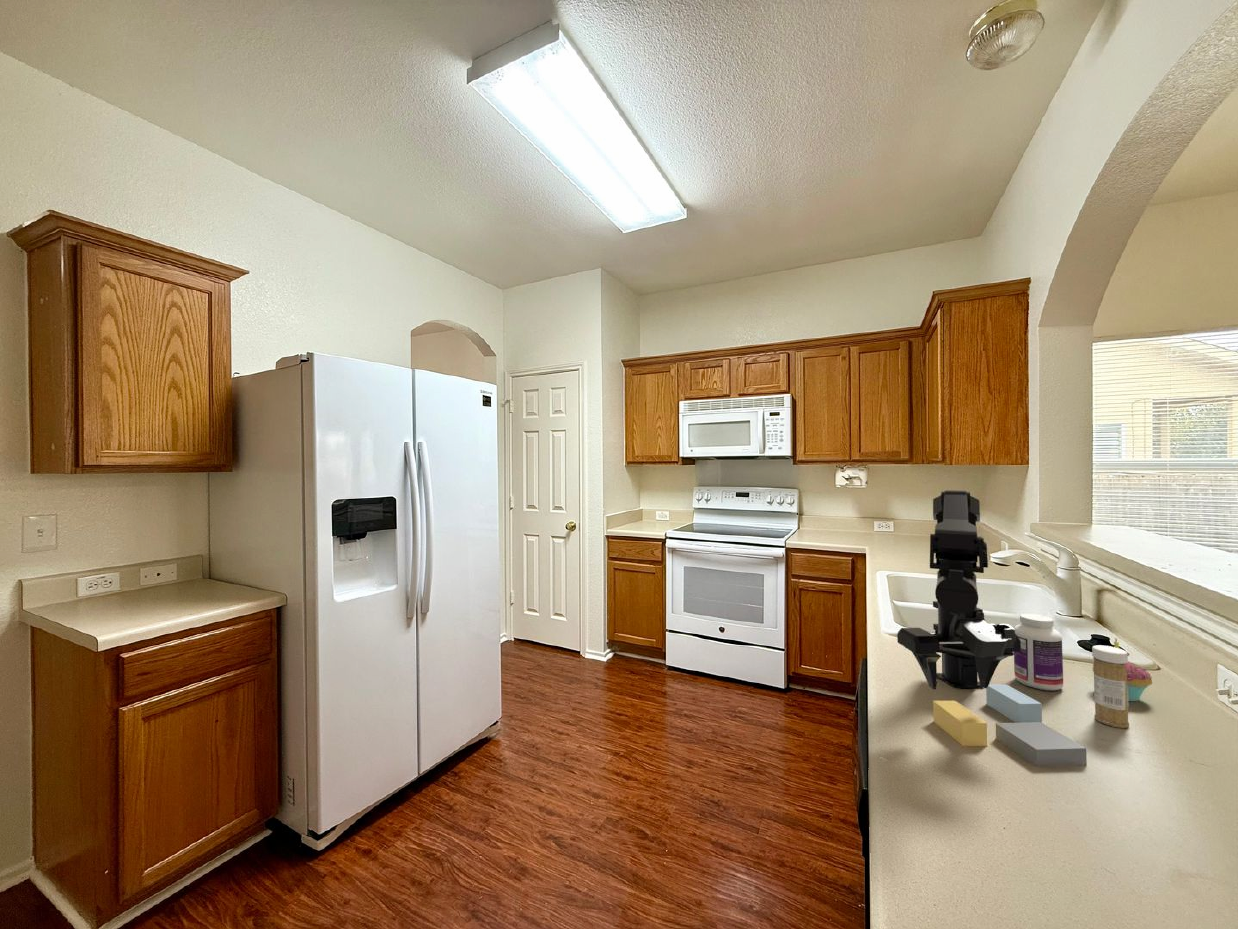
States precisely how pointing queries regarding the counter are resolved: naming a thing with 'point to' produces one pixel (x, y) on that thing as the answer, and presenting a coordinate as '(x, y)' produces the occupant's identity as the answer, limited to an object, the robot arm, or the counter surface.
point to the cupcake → (1135, 679)
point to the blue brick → (1013, 704)
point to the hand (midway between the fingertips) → (958, 688)
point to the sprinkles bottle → (1110, 686)
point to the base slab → (1041, 744)
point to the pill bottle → (1039, 653)
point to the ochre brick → (960, 723)
